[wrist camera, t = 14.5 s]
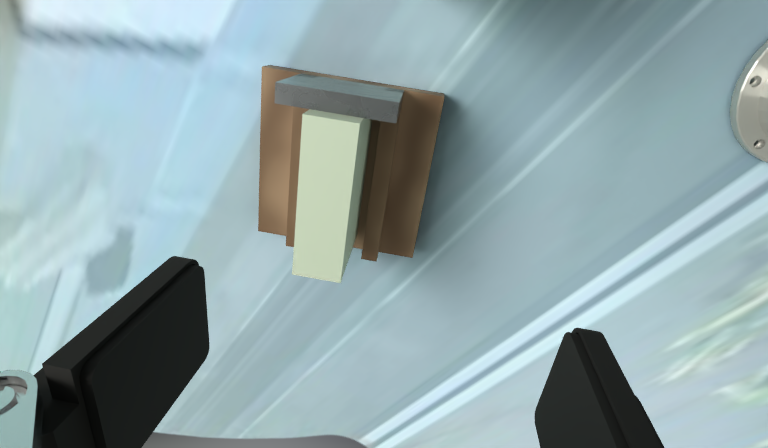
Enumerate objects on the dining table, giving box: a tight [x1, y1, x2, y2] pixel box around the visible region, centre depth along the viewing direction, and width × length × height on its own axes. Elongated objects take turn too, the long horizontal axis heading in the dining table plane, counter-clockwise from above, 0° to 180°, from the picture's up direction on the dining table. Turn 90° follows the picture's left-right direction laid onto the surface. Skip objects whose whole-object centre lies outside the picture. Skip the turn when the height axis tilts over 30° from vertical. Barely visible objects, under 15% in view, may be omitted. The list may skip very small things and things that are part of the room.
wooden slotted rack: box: [258, 65, 445, 261], centre depth 40 cm, size 16×16×4 cm
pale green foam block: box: [292, 109, 372, 283], centre depth 36 cm, size 4×13×9 cm, turn 172°
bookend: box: [275, 73, 404, 123], centre depth 34 cm, size 9×2×7 cm, turn 82°
